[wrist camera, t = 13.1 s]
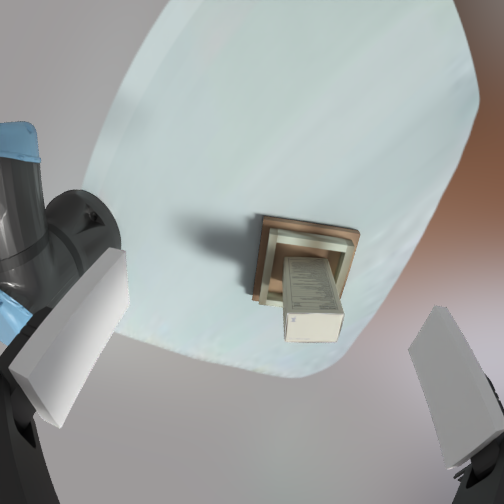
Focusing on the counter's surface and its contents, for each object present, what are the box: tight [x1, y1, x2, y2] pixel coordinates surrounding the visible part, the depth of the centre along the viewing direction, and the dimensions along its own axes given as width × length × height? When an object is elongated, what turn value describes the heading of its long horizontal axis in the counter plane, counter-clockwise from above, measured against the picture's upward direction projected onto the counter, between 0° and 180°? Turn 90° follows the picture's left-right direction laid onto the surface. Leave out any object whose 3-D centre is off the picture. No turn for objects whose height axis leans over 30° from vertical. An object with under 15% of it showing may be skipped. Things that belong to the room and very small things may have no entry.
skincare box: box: [282, 257, 345, 343], centre depth 36 cm, size 6×4×12 cm
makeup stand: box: [252, 216, 360, 308], centre depth 41 cm, size 13×13×3 cm
